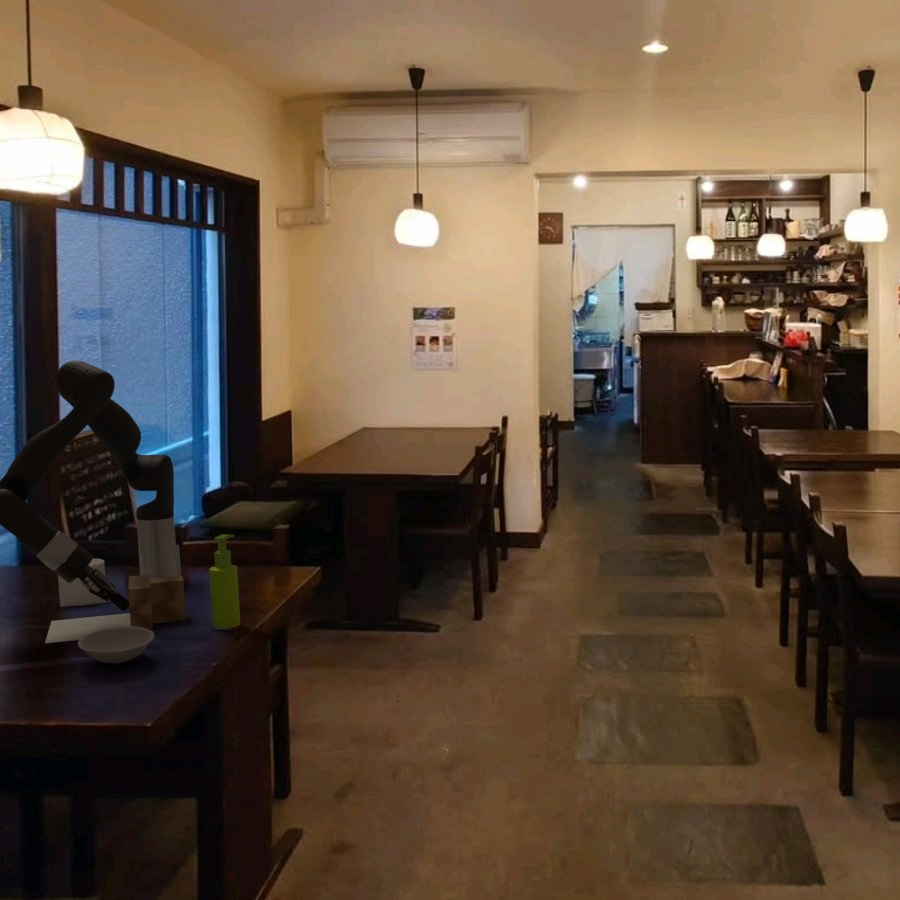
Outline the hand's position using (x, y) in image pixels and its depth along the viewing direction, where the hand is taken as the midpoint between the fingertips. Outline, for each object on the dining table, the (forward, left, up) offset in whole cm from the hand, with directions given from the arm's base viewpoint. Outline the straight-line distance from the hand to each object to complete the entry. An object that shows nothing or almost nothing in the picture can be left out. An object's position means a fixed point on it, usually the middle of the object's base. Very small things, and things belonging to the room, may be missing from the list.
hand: (127, 607), depth 236 cm
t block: (-6, +3, -4) cm, 7 cm away
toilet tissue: (-4, -29, -5) cm, 30 cm away
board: (+1, -1, -5) cm, 5 cm away
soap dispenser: (-15, +16, -5) cm, 22 cm away
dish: (+14, +21, -5) cm, 26 cm away
